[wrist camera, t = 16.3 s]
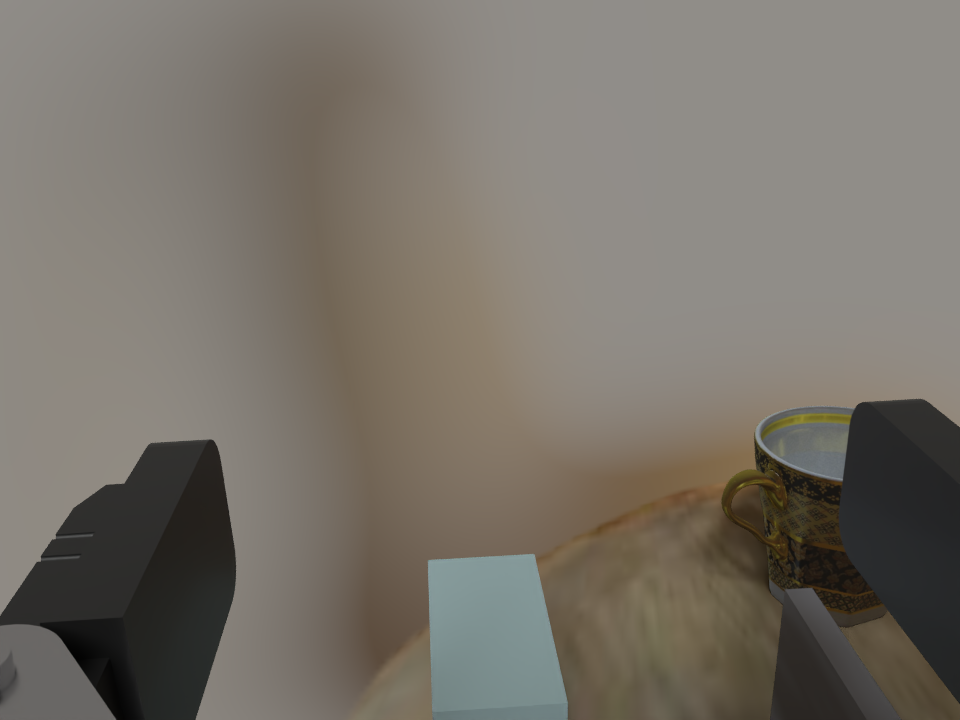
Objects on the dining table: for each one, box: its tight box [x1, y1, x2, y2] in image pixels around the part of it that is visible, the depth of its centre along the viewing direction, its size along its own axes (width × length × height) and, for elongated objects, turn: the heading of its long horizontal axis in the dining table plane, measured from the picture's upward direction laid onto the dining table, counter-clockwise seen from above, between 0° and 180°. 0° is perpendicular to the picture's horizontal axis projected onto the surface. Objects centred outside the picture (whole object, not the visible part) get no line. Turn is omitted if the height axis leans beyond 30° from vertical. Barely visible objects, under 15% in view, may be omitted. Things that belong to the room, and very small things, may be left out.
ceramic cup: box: [722, 406, 887, 627], centre depth 52 cm, size 13×10×10 cm
